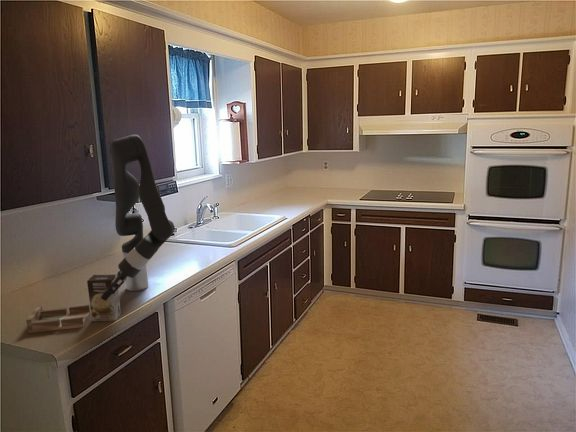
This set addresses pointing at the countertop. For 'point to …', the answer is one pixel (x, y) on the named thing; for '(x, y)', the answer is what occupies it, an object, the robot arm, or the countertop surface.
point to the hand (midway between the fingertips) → (105, 294)
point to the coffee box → (98, 306)
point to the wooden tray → (57, 318)
